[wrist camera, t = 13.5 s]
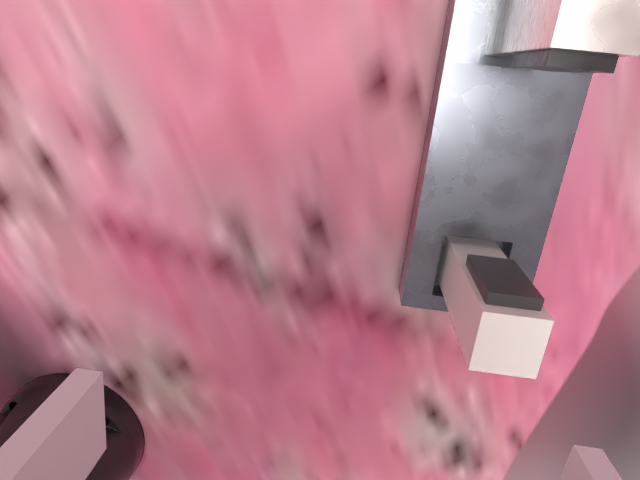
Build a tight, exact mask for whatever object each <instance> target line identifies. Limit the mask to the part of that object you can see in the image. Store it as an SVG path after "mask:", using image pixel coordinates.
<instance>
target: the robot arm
mask: <svg viewBox="0 0 640 480" xmlns="http://www.w3.org/2000/svg"><path fill="white" fill-rule="evenodd" d="M143 451H144V437H143V432H142V429H141V426H140V423H139V421H138V419H137V418H136V416H135V414H134V413H133V411H132V410H131V409H130V407H129V406H128V405H127V404H126V403H125V402H124V401H123V400H122V399H121V398H120V397H119V396H117V395H116V394H115V393H114V392H112V391H111V390H109V389H108V388H106V387H104V382H103V372H100V371H94V370H88V369H81V368H76V369H75V370H74V371H73V372H72V373H71V374H70V375H67V374H53V375H46V376H42V377H39V378H36V379H34V380H32V381H30V382H29V383H27V384H26V385H25V386H24V387H22V388H21V389H20V390H19V391H18V392H17V393H16V394H15V395H14V396H13V397H12V398H11V399H10V400H9V401H8V402H7V403H6V405H5V406H4V407H3V409H2V411H1V412H0V480H129V479H130V477H131V476H132V474H133V472H134V471H135V469H136V467H137V466H138V464H139V462H140V460H141V458H142V455H143ZM560 480H622V479H621V478H620V476H619V475H618V473H617V471H616V470H615V468H614V467H613V465H612V464H611V462H610V461H609V459H608V458H607V456H606V455H605V453H604V451H603V450H602V449H597V448H591V447H584V446H577V445H574V446H573V448H572V451H571V453H570V455H569V458H568V460H567V463H566V465H565V468H564V470H563V473H562V475H561V478H560Z"/></svg>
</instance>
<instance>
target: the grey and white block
mask: <svg viewBox="0 0 640 480" xmlns="http://www.w3.org/2000/svg"><path fill="white" fill-rule="evenodd" d="M639 54H640V0H449V5H448V10H447V16H446V22H445V28H444V33H443V39H442V45H441V51H440V56H439V62H438V68H437V74H436V79H435V85H434V91H433V97H432V102H431V108H430V114H429V120H428V125H427V131H426V137H425V143H424V148H423V154H422V160H421V166H420V171H419V177H418V183H417V189H416V194H415V200H414V206H413V212H412V217H411V223H410V229H409V235H408V240H407V246H406V252H405V258H404V263H403V269H402V275H401V281H400V286H399V293H400V300H401V305H402V306H409V307H417V308H425V309H433V310H440V311H448V309H447V306H446V303H445V300H444V297H443V294H442V291H441V288H440V285H439V282H438V279H437V278H438V273H439V268H440V263H441V258H442V254H443V249H444V244H445V239H446V236H455V237H463V238H471V239H480V240H488V241H495V242H496V244H497V245H498V246H499V248H500V249H501V250H502V252H503V253H504V254H505V256H506V257H507V258H508V259H512V260H514V261H515V262H516V263H517V265H518V266H519V267H520V268H521V270H522V271H523V272H524V274H525V275H526V276H527V277H528V279H529V280H530V281H531V283H532V284H533V280H534V277H535V273H536V270H537V266H538V263H539V259H540V256H541V252H542V249H543V245H544V242H545V238H546V235H547V231H548V228H549V224H550V221H551V217H552V214H553V210H554V207H555V203H556V200H557V196H558V193H559V189H560V186H561V182H562V179H563V175H564V172H565V168H566V165H567V161H568V158H569V154H570V151H571V147H572V144H573V140H574V137H575V133H576V130H577V126H578V123H579V119H580V116H581V112H582V109H583V105H584V102H585V98H586V95H587V91H588V88H589V84H590V81H591V77H592V74H593V73H614V70H615V67H616V63H617V60H618V57H626V56H639Z"/></svg>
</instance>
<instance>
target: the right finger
mask: <svg viewBox="0 0 640 480" xmlns="http://www.w3.org/2000/svg"><path fill="white" fill-rule="evenodd" d="M437 279H438V282H439V285H440V288H441V291H442V294H443V297H444V300H445V303H446V306H447V309H448V312H449V314H450V317H451V320H452V323H453V326H454V329H455V332H456V335H457V338H458V341H459V344H460V347H461V350H462V353H463V356H464V359H465V362H466V364H467V367H468V370H472V371H480V372H487V373H495V374H502V375H509V376H517V377H524V378H531V379H536V377H537V374H538V371H539V368H540V365H541V361H542V358H543V355H544V352H545V349H546V345H547V342H548V339H549V336H550V333H551V329H552V326H553V323H554V320H553V319H552V317H551V316H550V315H549V313H548V312H547V311H546V309H545V308H544V307H543V302H544V298H543V297H542V295H541V294H540V293H539V292H538V290H537V289H536V288H535V286H534V285H533V284H532V283H531V281H530V280H529V279H528V277H527V276H526V275H525V274H524V272H523V271H522V270H521V268H520V267H519V266H518V265H517V263H516V262H515V261H514V260H512V259H508V258H507V257H506V256H505V254H504V253H503V252H502V250H501V249H500V248H499V246H498V245H497V244H496V242H495V241H488V240H480V239H471V238H463V237H455V236H446V239H445V244H444V249H443V254H442V258H441V263H440V268H439V273H438V278H437Z"/></svg>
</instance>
